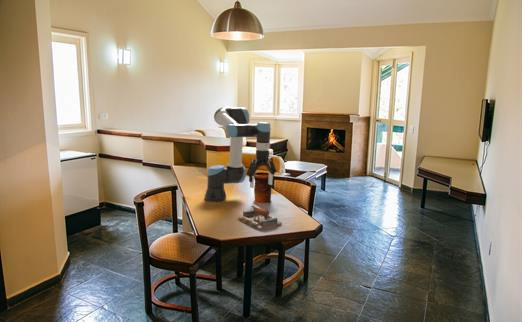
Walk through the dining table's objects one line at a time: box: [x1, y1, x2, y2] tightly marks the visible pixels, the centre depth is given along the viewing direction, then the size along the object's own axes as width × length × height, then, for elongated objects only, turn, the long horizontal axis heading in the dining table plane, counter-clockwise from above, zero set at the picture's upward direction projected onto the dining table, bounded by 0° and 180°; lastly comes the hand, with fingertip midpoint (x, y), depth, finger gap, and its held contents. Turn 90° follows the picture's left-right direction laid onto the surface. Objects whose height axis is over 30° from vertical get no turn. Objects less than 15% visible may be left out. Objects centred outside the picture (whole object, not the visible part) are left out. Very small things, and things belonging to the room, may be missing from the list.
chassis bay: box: [237, 208, 283, 231], centre depth 212 cm, size 21×16×4 cm
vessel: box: [253, 171, 275, 205], centre depth 252 cm, size 14×14×20 cm
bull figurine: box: [251, 203, 270, 220], centre depth 211 cm, size 4×13×8 cm, turn 47°
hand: (261, 186), depth 208 cm, fingers open, 13 cm apart
